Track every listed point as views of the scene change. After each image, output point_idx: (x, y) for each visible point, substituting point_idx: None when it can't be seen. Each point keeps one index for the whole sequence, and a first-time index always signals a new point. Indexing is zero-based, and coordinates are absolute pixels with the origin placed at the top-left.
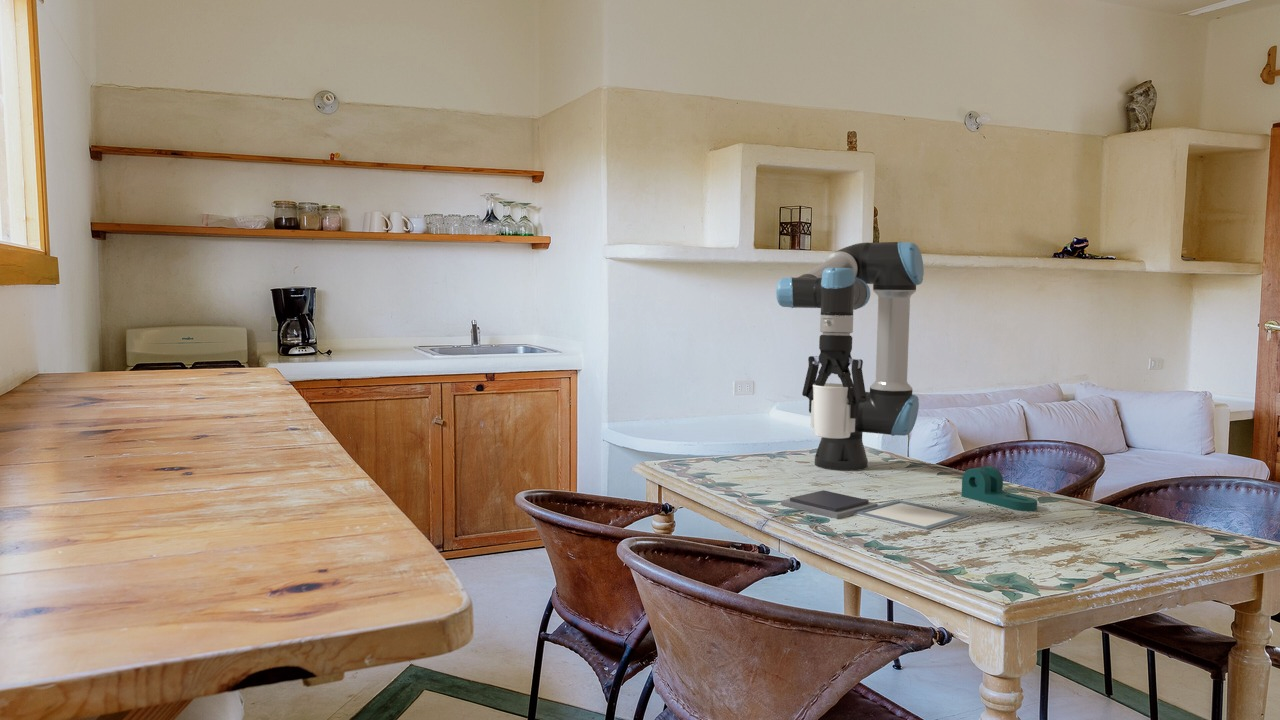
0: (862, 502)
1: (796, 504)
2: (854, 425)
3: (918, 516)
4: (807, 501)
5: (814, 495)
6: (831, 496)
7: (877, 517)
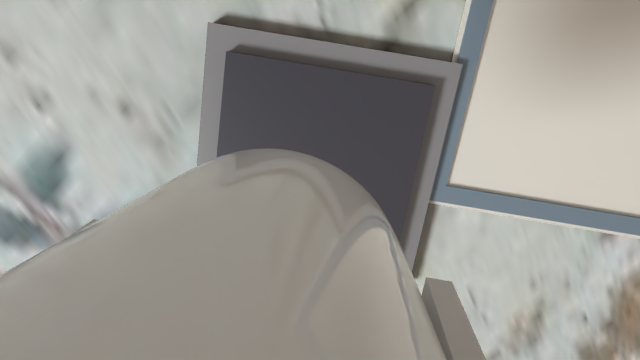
0: (425, 125)
1: None
2: (462, 316)
3: (628, 94)
4: None
5: None
6: (301, 127)
7: (513, 213)
